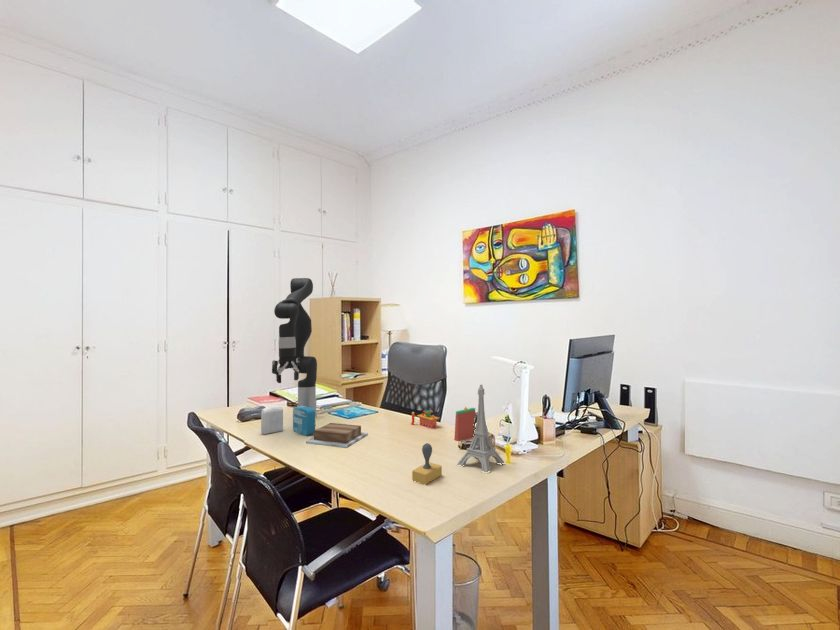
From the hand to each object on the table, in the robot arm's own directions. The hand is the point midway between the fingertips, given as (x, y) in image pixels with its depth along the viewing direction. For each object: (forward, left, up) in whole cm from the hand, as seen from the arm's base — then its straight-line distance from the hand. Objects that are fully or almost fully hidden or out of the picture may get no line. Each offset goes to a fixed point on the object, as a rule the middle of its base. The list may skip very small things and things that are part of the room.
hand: (287, 381), depth 192 cm
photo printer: (-2, -10, -25) cm, 27 cm away
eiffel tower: (+7, +92, -25) cm, 95 cm away
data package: (-6, +5, -25) cm, 26 cm away
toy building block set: (-32, +64, -25) cm, 76 cm away
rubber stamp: (+26, +77, -25) cm, 85 cm away
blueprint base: (-3, +25, -25) cm, 35 cm away
